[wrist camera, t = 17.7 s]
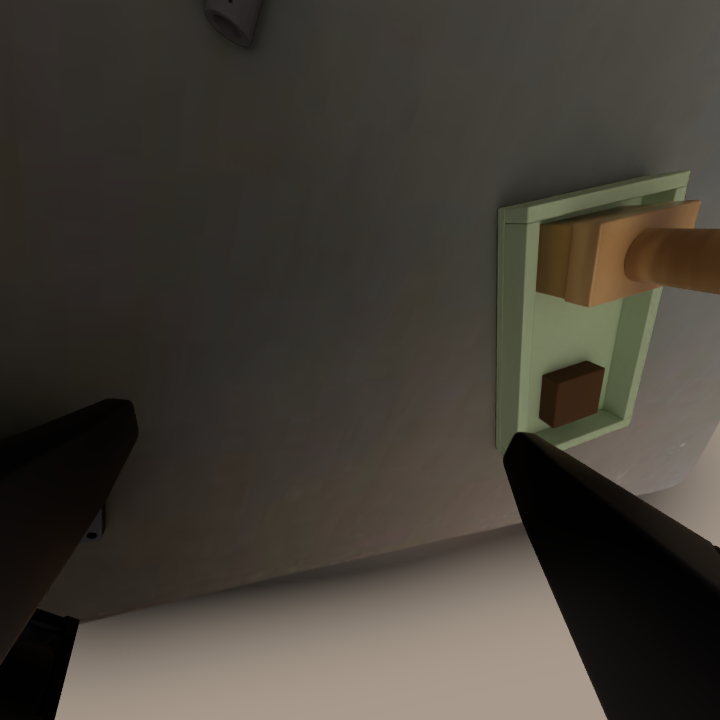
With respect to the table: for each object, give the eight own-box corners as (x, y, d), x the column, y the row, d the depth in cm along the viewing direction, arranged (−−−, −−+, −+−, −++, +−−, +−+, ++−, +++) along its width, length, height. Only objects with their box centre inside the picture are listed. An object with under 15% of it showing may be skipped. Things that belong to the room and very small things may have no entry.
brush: (532, 293, 20) (882, 386, 9) (536, 222, 18) (987, 223, 7) (611, 272, 21) (1017, 330, 10) (623, 203, 19) (1138, 176, 8)
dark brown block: (580, 403, 26) (597, 413, 24) (538, 418, 25) (553, 429, 24) (587, 359, 24) (605, 367, 23) (541, 374, 23) (558, 383, 22)
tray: (602, 409, 28) (630, 425, 26) (495, 448, 26) (515, 468, 24) (646, 175, 20) (691, 170, 18) (497, 208, 18) (528, 206, 16)
